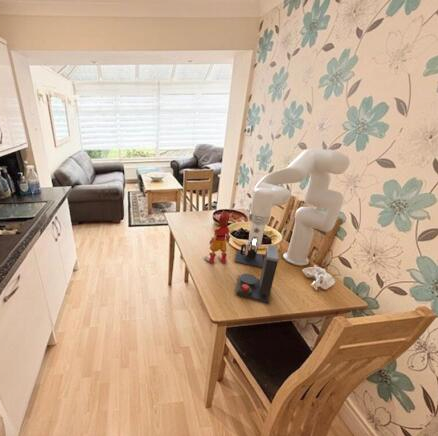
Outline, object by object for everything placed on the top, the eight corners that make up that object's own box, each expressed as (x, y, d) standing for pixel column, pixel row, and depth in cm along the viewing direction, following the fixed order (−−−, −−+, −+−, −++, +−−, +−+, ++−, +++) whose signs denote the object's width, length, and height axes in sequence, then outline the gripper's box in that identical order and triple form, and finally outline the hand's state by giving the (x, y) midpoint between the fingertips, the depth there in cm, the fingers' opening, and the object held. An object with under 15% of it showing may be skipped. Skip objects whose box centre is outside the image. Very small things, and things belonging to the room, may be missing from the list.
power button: (241, 286, 111) (242, 283, 110) (248, 288, 110) (249, 285, 109) (241, 290, 108) (241, 287, 108) (248, 292, 107) (248, 289, 106)
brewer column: (240, 272, 120) (246, 239, 112) (269, 279, 115) (277, 245, 107) (238, 287, 110) (244, 252, 102) (269, 295, 105) (278, 259, 97)
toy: (221, 254, 141) (227, 207, 129) (230, 262, 133) (238, 213, 121) (203, 257, 138) (208, 209, 126) (211, 266, 130) (217, 216, 118)
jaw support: (343, 289, 108) (330, 275, 107) (324, 298, 111) (311, 285, 110) (330, 273, 119) (318, 260, 117) (313, 282, 122) (301, 270, 121)
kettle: (240, 253, 141) (243, 236, 137) (255, 256, 138) (259, 239, 133) (238, 260, 134) (241, 243, 129) (255, 264, 130) (258, 247, 126)
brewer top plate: (237, 250, 145) (237, 249, 145) (262, 255, 140) (263, 254, 139) (235, 262, 133) (235, 261, 133) (262, 268, 128) (262, 267, 128)
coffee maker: (239, 276, 122) (240, 271, 120) (267, 283, 117) (268, 278, 115) (236, 296, 109) (237, 290, 108) (267, 304, 104) (269, 299, 103)
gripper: (268, 227, 90) (259, 265, 97) (268, 212, 104) (261, 246, 111) (247, 223, 93) (240, 260, 100) (250, 209, 107) (244, 242, 114)
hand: (251, 253), depth 105 cm, fingers open, 9 cm apart
